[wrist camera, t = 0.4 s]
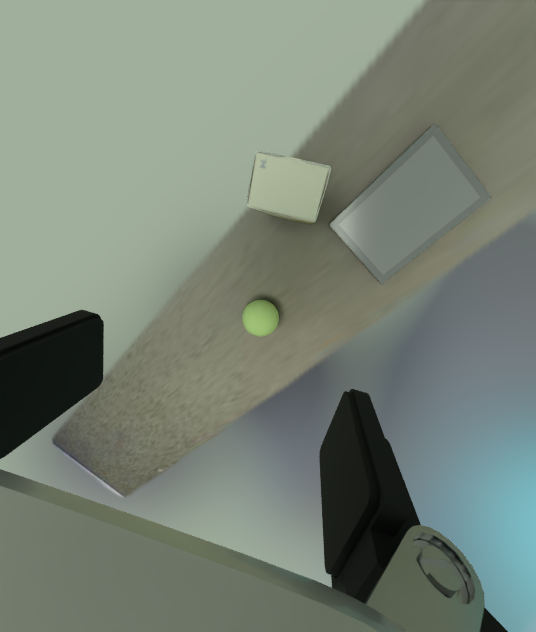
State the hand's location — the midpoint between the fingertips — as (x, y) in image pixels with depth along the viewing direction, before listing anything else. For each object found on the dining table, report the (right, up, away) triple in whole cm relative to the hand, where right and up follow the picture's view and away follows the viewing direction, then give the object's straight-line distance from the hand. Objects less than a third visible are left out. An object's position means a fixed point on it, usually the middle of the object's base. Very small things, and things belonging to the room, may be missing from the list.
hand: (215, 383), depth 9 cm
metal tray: (+18, +15, +21) cm, 31 cm away
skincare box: (+5, +17, +22) cm, 28 cm away
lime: (+1, +3, +28) cm, 28 cm away
